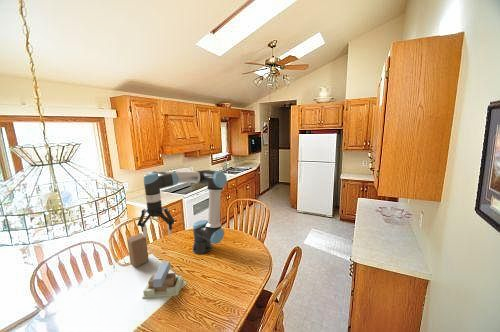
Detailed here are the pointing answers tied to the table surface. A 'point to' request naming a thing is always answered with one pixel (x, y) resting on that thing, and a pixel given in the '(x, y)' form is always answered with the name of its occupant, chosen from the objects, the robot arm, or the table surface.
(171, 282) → the brown rectangular block
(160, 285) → the blue-grey rectangular prism
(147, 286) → the jig
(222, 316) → the table surface
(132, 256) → the wooden block
